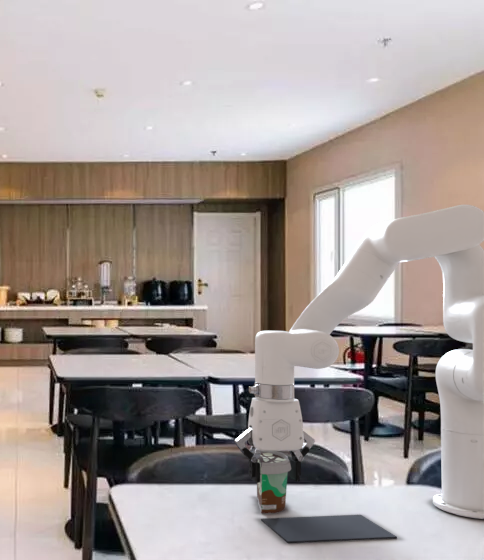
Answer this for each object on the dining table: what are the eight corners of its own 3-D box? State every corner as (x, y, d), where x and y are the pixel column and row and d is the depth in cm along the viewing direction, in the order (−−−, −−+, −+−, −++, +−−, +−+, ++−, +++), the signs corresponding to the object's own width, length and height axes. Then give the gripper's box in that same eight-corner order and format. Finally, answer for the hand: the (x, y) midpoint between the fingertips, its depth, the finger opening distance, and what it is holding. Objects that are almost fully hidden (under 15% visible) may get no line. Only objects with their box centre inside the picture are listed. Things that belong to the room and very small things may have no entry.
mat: (360, 516, 119) (360, 514, 119) (397, 538, 108) (397, 536, 108) (260, 520, 117) (260, 518, 117) (287, 543, 106) (287, 541, 106)
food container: (295, 518, 118) (295, 465, 118) (262, 515, 119) (261, 463, 119) (286, 497, 130) (286, 449, 130) (256, 495, 131) (256, 448, 131)
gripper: (240, 395, 120) (240, 487, 120) (325, 394, 122) (325, 484, 122) (226, 389, 128) (226, 476, 127) (306, 388, 130) (306, 473, 129)
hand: (274, 479), depth 124 cm, fingers open, 7 cm apart
